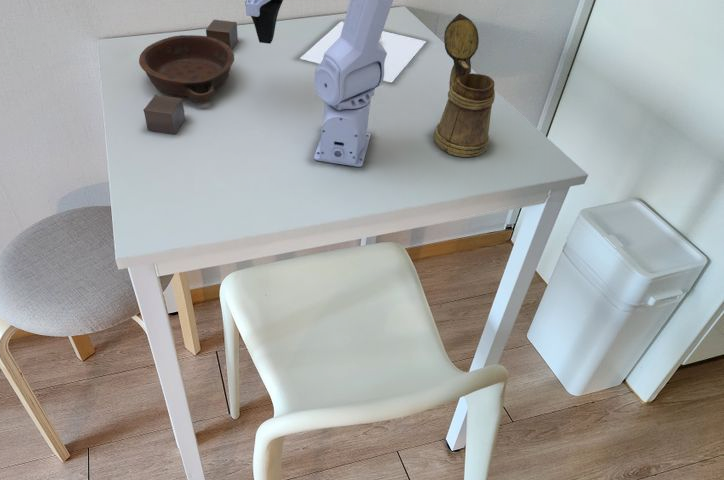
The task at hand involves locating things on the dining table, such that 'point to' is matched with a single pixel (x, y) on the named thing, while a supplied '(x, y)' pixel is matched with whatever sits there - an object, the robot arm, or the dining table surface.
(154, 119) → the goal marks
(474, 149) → the wooden mug
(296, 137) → the dining table surface
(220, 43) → the dish
